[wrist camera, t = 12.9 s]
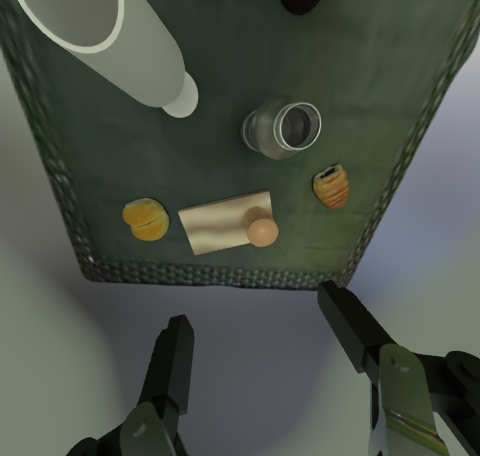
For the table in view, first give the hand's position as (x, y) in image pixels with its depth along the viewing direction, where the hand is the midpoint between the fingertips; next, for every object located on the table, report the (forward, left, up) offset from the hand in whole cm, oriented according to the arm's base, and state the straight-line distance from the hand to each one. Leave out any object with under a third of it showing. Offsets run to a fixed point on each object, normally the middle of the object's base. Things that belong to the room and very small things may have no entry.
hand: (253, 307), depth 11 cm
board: (+8, -2, -30) cm, 31 cm away
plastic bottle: (-8, +7, -30) cm, 32 cm away
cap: (+8, +4, -28) cm, 29 cm away
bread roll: (+3, -18, -30) cm, 35 cm away
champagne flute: (-16, -5, -30) cm, 34 cm away
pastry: (+5, +21, -30) cm, 37 cm away
